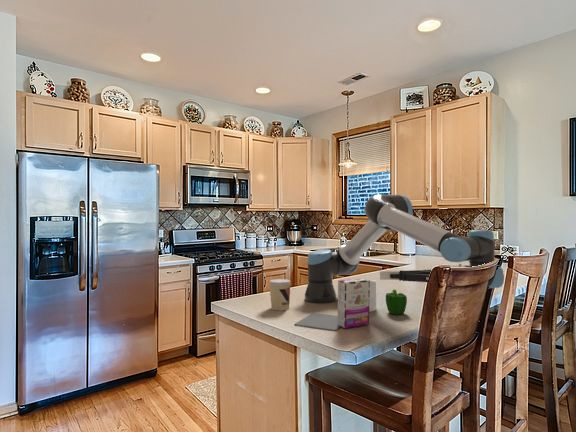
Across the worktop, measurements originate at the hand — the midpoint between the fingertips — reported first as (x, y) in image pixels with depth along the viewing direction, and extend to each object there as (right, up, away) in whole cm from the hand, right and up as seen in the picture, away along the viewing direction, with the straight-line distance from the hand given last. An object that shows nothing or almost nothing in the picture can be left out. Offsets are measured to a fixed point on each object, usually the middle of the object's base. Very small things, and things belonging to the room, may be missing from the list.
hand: (380, 275), depth 126 cm
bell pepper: (+11, -19, +18) cm, 28 cm away
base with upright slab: (0, -19, +26) cm, 32 cm away
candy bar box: (-9, -19, +3) cm, 21 cm away
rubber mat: (-19, -19, +8) cm, 28 cm away
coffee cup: (-36, -19, +29) cm, 50 cm away
